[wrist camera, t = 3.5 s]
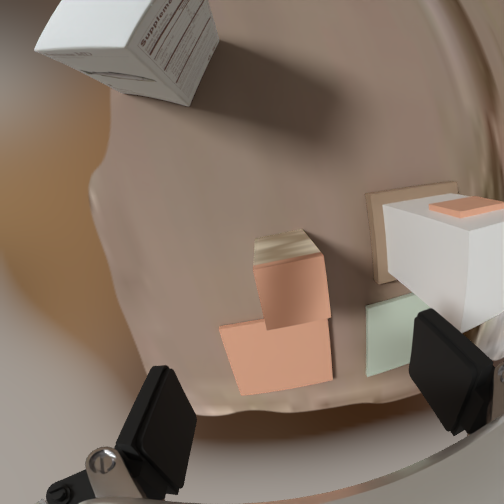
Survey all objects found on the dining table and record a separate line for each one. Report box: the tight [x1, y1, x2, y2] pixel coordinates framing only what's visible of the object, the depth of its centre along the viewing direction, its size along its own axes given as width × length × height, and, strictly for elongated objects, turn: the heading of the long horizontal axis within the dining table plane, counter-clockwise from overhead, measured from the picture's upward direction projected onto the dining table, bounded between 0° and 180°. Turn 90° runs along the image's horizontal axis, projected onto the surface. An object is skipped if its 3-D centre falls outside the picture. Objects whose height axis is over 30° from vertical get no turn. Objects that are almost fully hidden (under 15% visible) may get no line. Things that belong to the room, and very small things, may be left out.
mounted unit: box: [365, 181, 504, 333], centre depth 16 cm, size 10×8×12 cm
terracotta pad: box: [219, 318, 333, 396], centre depth 26 cm, size 10×9×1 cm
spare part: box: [253, 229, 331, 330], centre depth 19 cm, size 4×4×8 cm
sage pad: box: [366, 293, 430, 377], centre depth 25 cm, size 10×9×1 cm
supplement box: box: [34, 0, 219, 107], centre depth 13 cm, size 7×7×13 cm
